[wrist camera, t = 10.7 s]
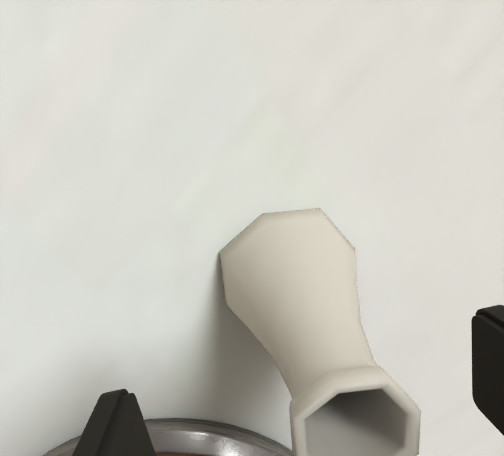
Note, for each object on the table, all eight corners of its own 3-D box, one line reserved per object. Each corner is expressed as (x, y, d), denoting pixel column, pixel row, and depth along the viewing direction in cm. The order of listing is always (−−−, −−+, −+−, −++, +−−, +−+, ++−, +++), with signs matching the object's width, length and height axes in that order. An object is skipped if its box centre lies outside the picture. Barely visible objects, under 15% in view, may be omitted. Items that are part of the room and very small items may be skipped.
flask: (253, 354, 19) (274, 584, 9) (196, 241, 17) (145, 377, 7) (374, 304, 18) (534, 488, 9) (329, 183, 16) (467, 241, 7)
